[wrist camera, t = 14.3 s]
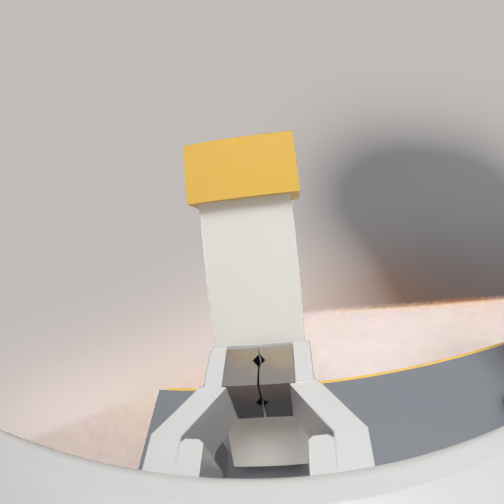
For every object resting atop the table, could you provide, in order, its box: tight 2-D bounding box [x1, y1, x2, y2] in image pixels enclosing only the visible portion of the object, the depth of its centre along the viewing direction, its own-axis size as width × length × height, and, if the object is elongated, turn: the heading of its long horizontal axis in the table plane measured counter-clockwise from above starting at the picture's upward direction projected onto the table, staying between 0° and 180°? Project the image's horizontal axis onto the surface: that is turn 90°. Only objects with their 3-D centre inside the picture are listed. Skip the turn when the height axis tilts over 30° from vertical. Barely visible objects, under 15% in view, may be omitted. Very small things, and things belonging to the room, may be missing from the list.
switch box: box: [139, 342, 504, 479], centre depth 12 cm, size 28×10×8 cm, turn 88°
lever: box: [184, 131, 310, 467], centre depth 11 cm, size 4×2×12 cm
